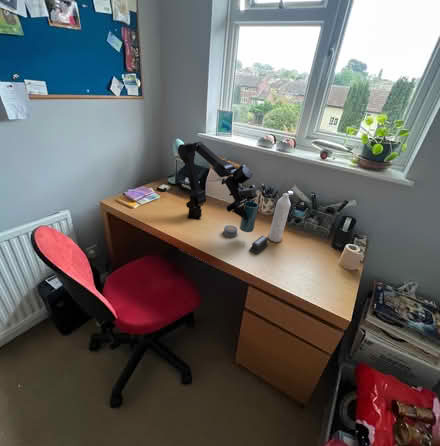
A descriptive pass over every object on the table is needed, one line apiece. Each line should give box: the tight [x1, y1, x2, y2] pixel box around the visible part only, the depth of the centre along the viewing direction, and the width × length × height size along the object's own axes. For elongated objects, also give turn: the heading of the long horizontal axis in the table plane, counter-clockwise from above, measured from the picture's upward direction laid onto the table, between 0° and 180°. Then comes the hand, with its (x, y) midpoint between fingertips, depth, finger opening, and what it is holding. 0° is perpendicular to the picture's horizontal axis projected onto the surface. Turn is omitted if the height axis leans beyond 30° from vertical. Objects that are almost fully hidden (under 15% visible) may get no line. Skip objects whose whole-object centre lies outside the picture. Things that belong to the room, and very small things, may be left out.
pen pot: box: [239, 201, 259, 233], centre depth 115 cm, size 7×7×13 cm
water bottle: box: [267, 190, 294, 243], centre depth 120 cm, size 9×6×25 cm
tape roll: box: [223, 224, 238, 238], centre depth 125 cm, size 7×7×3 cm
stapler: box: [249, 235, 269, 255], centre depth 116 cm, size 10×4×4 cm, turn 142°
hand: (251, 217), depth 114 cm, fingers closed on pen pot, 7 cm apart
